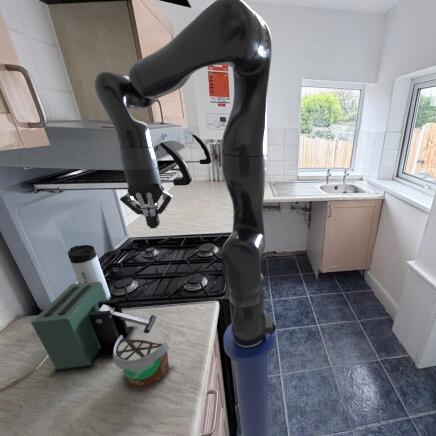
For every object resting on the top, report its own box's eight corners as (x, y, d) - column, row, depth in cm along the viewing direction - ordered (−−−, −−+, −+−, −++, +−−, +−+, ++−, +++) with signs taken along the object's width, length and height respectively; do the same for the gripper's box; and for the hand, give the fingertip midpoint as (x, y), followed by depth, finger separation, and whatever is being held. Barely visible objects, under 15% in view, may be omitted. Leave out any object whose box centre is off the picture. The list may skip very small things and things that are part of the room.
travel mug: (102, 291, 82) (84, 242, 75) (115, 296, 80) (98, 245, 73) (82, 303, 77) (60, 251, 69) (96, 308, 75) (75, 255, 67)
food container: (108, 388, 53) (95, 358, 49) (129, 363, 59) (119, 334, 55) (158, 397, 52) (148, 367, 48) (175, 370, 57) (167, 341, 53)
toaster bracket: (134, 328, 68) (122, 293, 64) (118, 356, 60) (104, 319, 55) (115, 330, 68) (102, 295, 63) (97, 359, 59) (80, 322, 55)
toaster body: (117, 324, 70) (102, 280, 63) (90, 368, 57) (67, 318, 51) (89, 327, 68) (70, 282, 62) (55, 372, 56) (28, 322, 50)
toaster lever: (154, 320, 66) (157, 314, 66) (147, 335, 62) (151, 328, 61) (103, 307, 62) (106, 300, 61) (92, 321, 57) (95, 314, 57)
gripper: (103, 168, 54) (122, 234, 61) (164, 167, 57) (175, 231, 63) (119, 163, 61) (134, 223, 68) (172, 162, 63) (182, 220, 70)
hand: (154, 227), depth 66 cm, fingers closed
